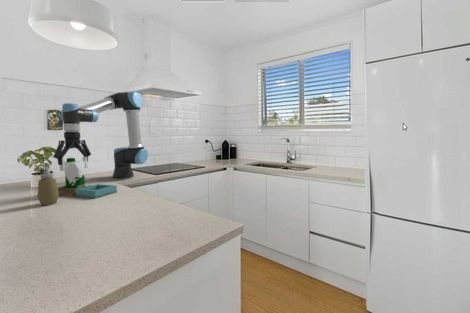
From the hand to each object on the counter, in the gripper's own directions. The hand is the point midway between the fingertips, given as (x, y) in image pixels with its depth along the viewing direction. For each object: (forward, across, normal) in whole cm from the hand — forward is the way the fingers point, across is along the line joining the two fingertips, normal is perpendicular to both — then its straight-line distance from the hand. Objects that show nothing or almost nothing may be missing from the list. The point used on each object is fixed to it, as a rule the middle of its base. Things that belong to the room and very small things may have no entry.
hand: (74, 169), depth 134 cm
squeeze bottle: (+14, +20, +8) cm, 26 cm away
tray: (+14, -1, +14) cm, 20 cm away
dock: (+14, 0, 0) cm, 14 cm away
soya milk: (+14, 0, 0) cm, 14 cm away
